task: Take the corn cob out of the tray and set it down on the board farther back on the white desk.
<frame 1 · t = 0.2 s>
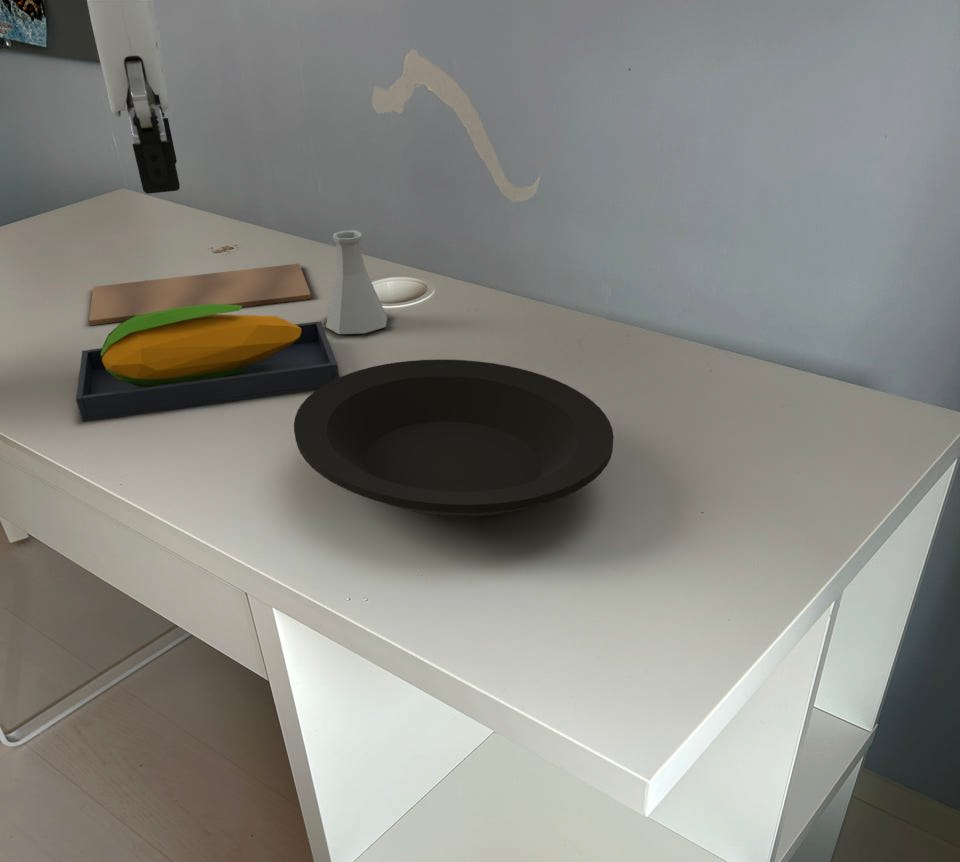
hand: (161, 177, 91), 19 cm above the table, tool pointing down, fingers open, 9 cm apart
tray: (211, 379, 102), on the table
flask: (357, 326, 113), on the table
board: (201, 295, 122), on the table
plate: (453, 484, 84), on the table
corn: (210, 377, 102), resting on tray
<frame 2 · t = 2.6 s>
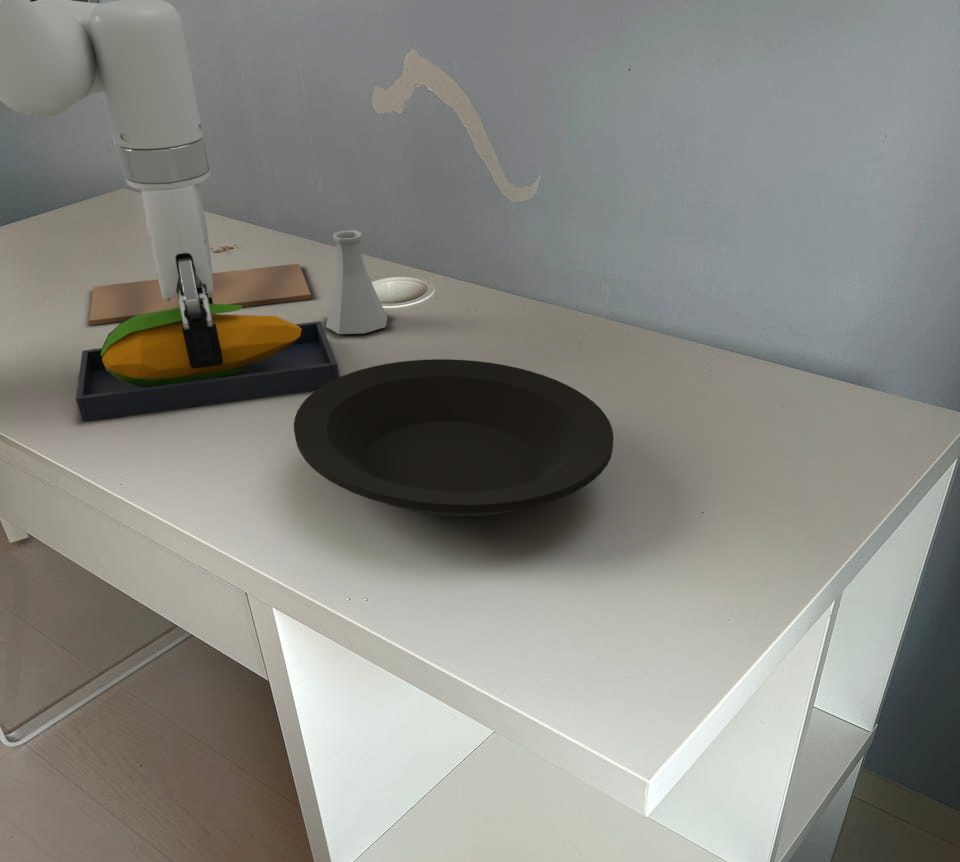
hand: (205, 349, 100), 3 cm above the table, tool pointing down, fingers closed on corn, 6 cm apart
corn: (211, 377, 102), resting on tray, touching gripper
everything else where it was.
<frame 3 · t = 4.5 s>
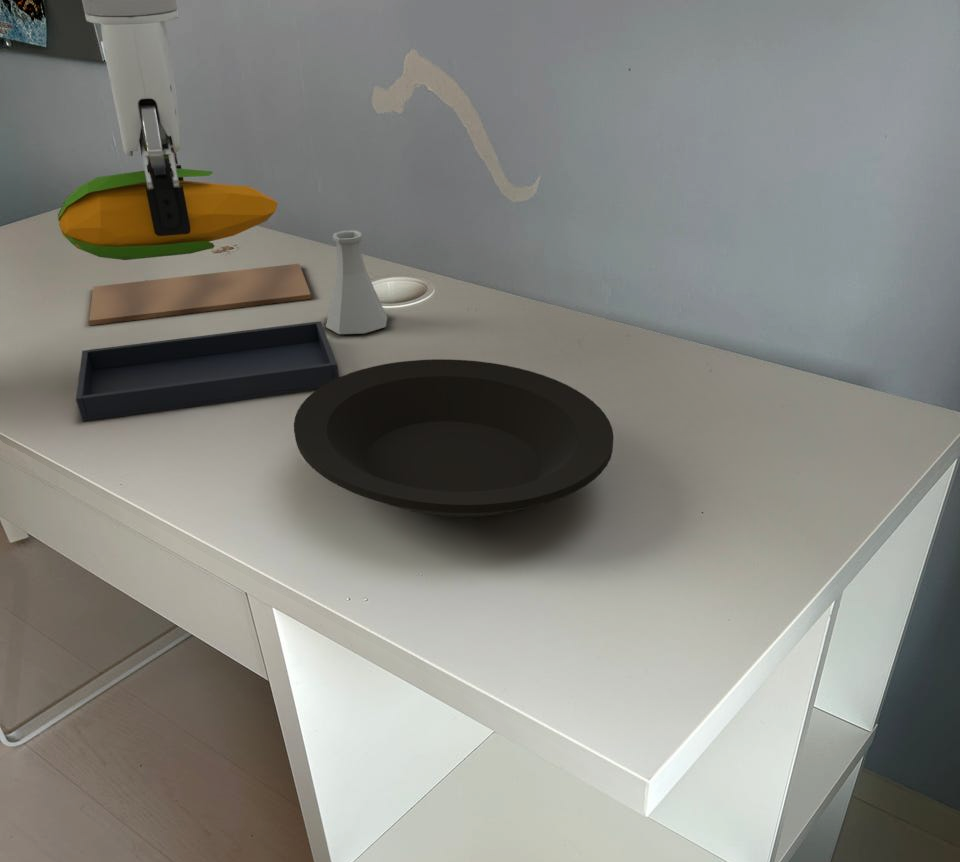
hand: (172, 220, 93), 16 cm above the table, tool pointing down, fingers closed on corn, 6 cm apart
corn: (178, 253, 95), point 13 cm above the table, touching gripper
everything else where it was.
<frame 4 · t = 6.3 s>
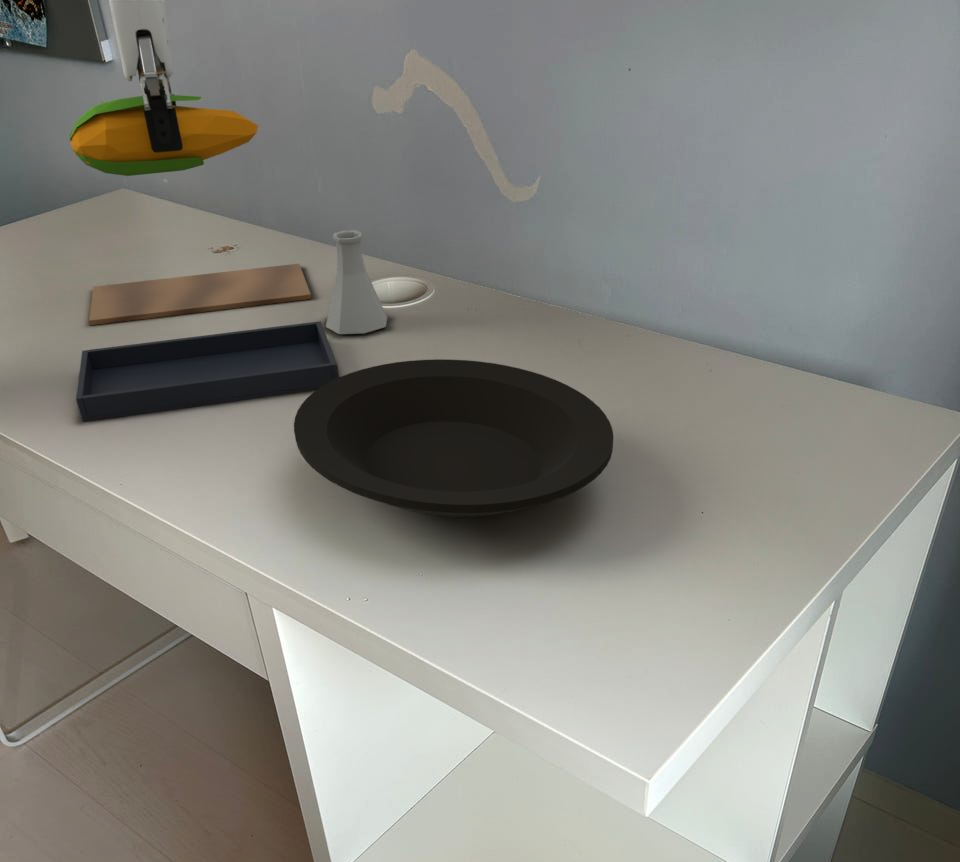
hand: (167, 141, 108), 18 cm above the table, tool pointing down, fingers closed on corn, 6 cm apart
corn: (173, 170, 110), point 15 cm above the table, touching gripper
everything else where it was.
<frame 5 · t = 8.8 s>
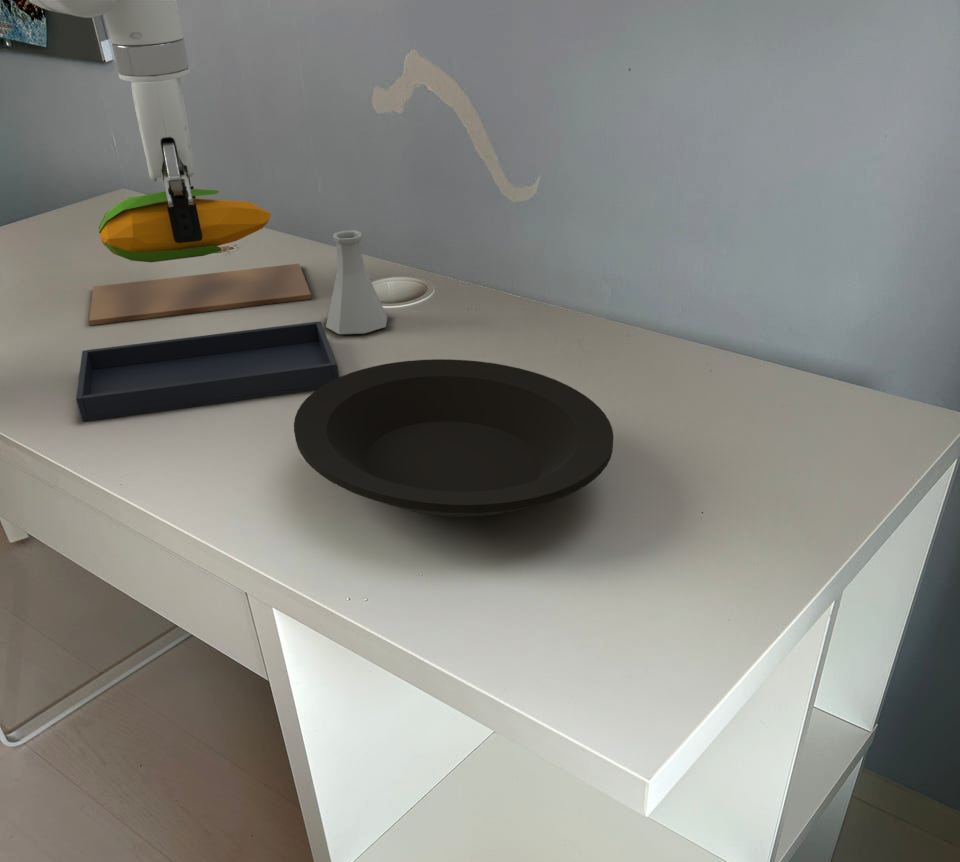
hand: (187, 230, 117), 8 cm above the table, tool pointing down, fingers closed on corn, 6 cm apart
corn: (193, 255, 119), point 5 cm above the table, touching gripper
everything else where it was.
when the fingers open (3 cm above the table, at t = 10.4 s): corn stays where it is, resting on board.
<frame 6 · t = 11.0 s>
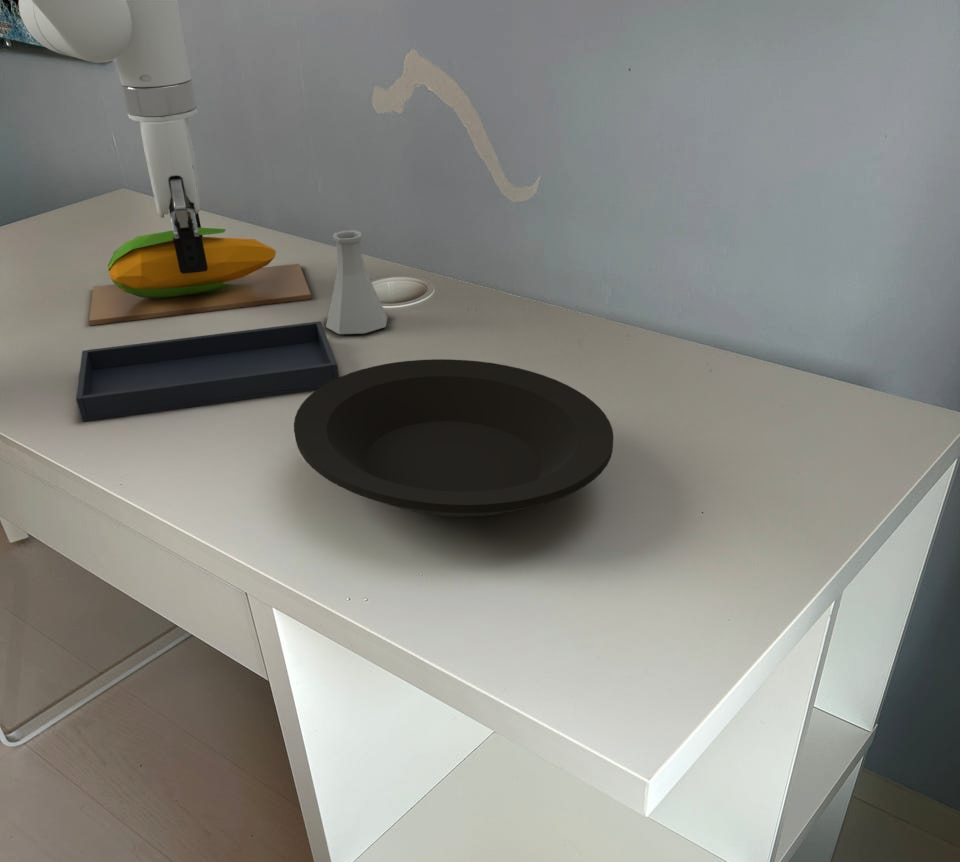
hand: (192, 258, 119), 4 cm above the table, tool pointing down, fingers open, 9 cm apart
corn: (200, 291, 122), resting on board
everything else where it was.
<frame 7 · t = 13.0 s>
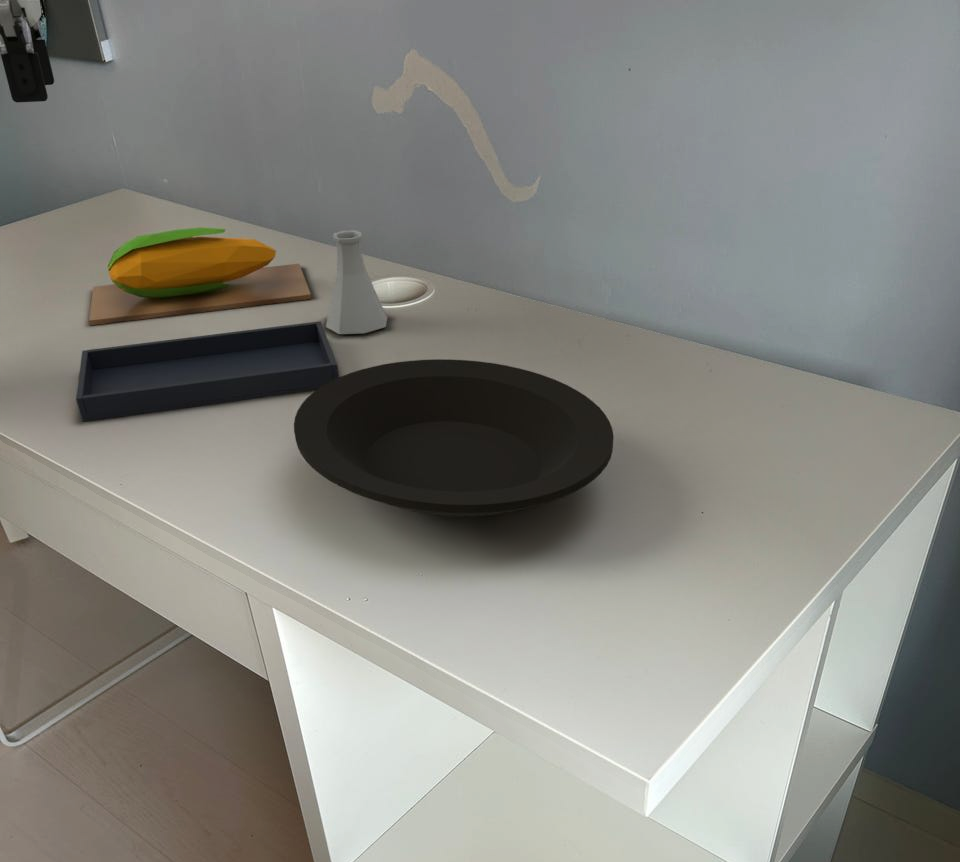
hand: (35, 92, 98), 24 cm above the table, tool pointing down, fingers open, 9 cm apart
nothing on the table moved.
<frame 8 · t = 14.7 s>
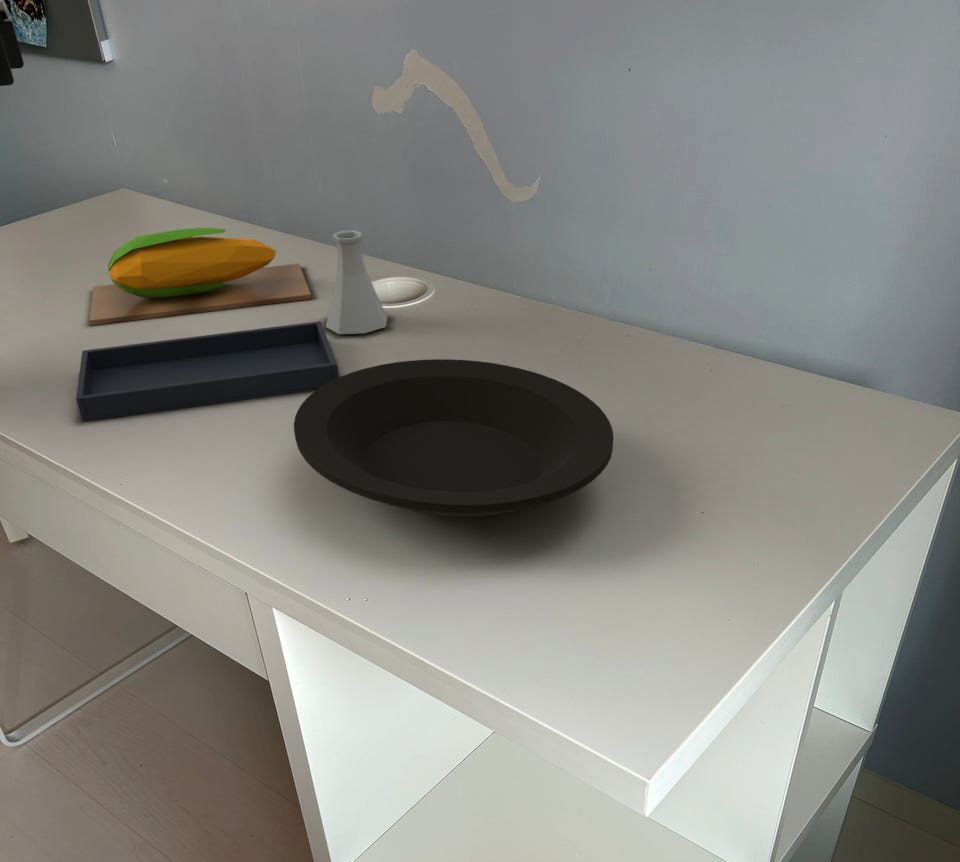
hand: (2, 76, 95), 26 cm above the table, tool pointing down, fingers open, 9 cm apart
nothing on the table moved.
at the end: corn inside the target area on the board (0.0 cm from its centre), point 0.4 cm above the board's base; corn touching board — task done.
